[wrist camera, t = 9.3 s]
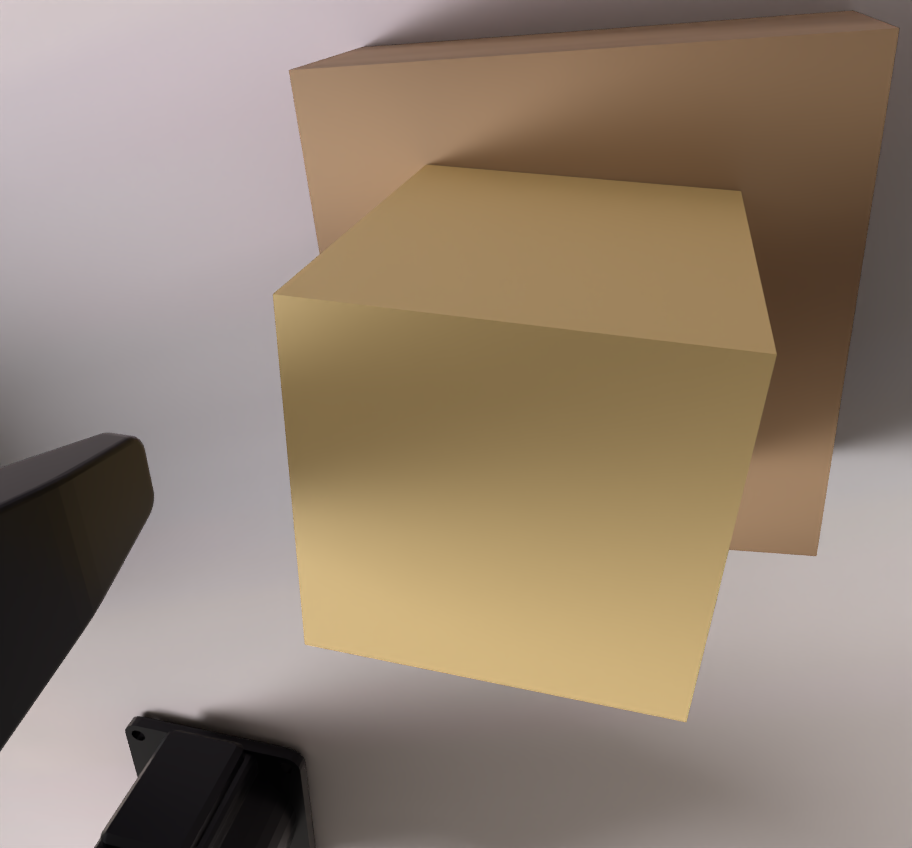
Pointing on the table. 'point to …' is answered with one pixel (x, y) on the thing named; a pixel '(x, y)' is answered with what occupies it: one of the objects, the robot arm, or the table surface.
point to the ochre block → (525, 429)
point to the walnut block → (655, 174)
